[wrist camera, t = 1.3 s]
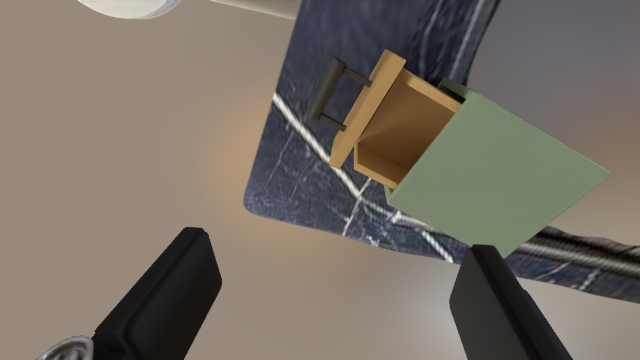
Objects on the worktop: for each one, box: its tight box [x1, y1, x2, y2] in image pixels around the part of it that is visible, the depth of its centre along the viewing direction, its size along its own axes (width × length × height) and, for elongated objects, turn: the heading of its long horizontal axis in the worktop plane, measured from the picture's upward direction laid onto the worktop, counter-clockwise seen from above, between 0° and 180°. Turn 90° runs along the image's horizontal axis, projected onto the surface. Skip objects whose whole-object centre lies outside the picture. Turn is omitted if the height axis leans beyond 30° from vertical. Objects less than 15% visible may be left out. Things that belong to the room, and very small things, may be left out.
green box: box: [384, 77, 612, 259], centre depth 29 cm, size 15×13×9 cm
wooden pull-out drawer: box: [307, 49, 463, 190], centre depth 28 cm, size 18×11×7 cm, turn 64°
